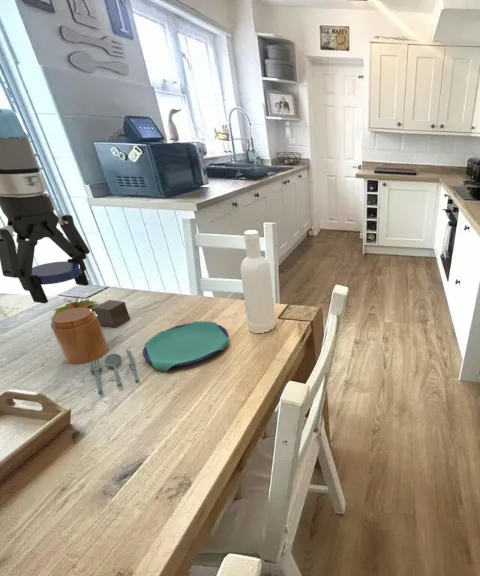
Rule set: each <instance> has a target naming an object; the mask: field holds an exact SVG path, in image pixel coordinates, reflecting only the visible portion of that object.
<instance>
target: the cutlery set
mask: <svg viewBox="0 0 480 576" xmlns="http://www.w3.org/2000/svg"><path fill="white" fill-rule="evenodd" d="M229 342H230V340H229V333H228V330H227V328H225V327H223V326H222V325H220V324H218V323H217V322H216V321H206V320H205V321H204V320H197V321H193V322H189V323H184V324H180V325H176V326H174V327H171V328H168V329H166V330H162V331H159V332H158V333H157V332H156V333H155V334H154V336H152V337H151V338H150V339H149V340H147V341H146V342H145V343H144V348H143V351H142V352H143V353H142V357H143V358H144V359H145V360H146V361H147V362H148V363H150V364H152V366H153V368H154V369H155V370H158V371H161V372H167V371H168V370H169V369H171V368H173V367H182V366H187V365H192V364H195V363H198V362H201V361H204V360H205V359H208V358H210V357H212V356H213V355H215V354H216V353H218V352H220V351H223V350H224V349H225V348H226V347H227V345H229ZM125 352H126V355H127V358H128V361H129V364H128V367H129V369H130V370H131V371H132V374H133V376H134V379H135V380H134V382H135V383H139V382H140V379H139V378H138V375H137V372H136V371H137V370H136V369H137V368H136V367H137V366H136V363H135V361H134V357H133V354H132V352H131V350H129V349H126V351H125ZM121 362H122V356H121V355H120V354H118V353H111V354H108V355H107V356H106V357H105V358H104V364H105V365H106V366H107V367H110V368H113V370H114V376H115V380H116V386H117V388H120V387H123V383H122V381H121V377H120V375H119V372H118V368H117V367H118V365H119V364H121ZM102 371H103V368H102V365H101V363H100V360H99V358H98V359H96V360H93V361H91V362H90V373H91V374H94V377H95V381H96V382H95V383H96V389H97V393H98V395H99V396H100V395H103V394H104V392H103V388H102V382H101V377H100V372H102Z"/></svg>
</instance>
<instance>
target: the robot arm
mask: <svg viewBox="0 0 480 576" xmlns="http://www.w3.org/2000/svg"><path fill="white" fill-rule="evenodd" d="M38 163H39V162H38V161H37V158H36V155H35V152H34V149H33V145H32V144H31V141H30V138H29V133H28V131H27V129H26V128H25V126H24V124H23V122H22V119H21V117H20V116H19V114H18V113H17V112H15V111H14V110H12V109H8V108H0V209H1V211H2V214H3V215H4V216H5V217H6V218H7V223H6V224H7V225H4V226H1V227H0V267H1V274H2V276H4V277H7V278H13V279H18V280H19V282H20V285H21V286H22V289H23V290H24V291H26V292H28V293H29V294H30V296H31V299H32V300H33V302H34V303H37V304H39V303H40V304H47V303H49V300H48V297H47V295H46V293H45V290H44V287H43V286H42V285H41V283H40V281H39V279H38V277H37V275H32V268H33V267H34V266H33V265H34V258H35V249H36V246H37V245H38V242H39V240H42V239H44V238H48V239H50V240H51V241H52V242H53V243H54V244H55V245H56V246H57V247H58V248H60V249H61V250H62V251H63V252H64V253H65V254H66V255H67V256H68V257H70V258H68V259H66V260H67V261H69V262H76V263H78V264H79V266H80V267H81V270H82V274H81V275H80V276H78V277H76V278H74V279H73V280H74V282H75V284H76V285H78V286H86V287H87V286H89V285H90V283H89V280H88V278H87V274H86V272H85V271H87V266H86V264H85V261H84V260H86V259H87V255H88V254H89V255H90V252H91V251H90V249H89V247H88V245H87V244H86V242H85V241H84V239H83V237H82V236H81V234H80V232H79V231H78V229H77V227H76V225H75V222H74V218H73V215H71V214H63V213H59V214H58V215H57V214H56V213H55V206H54V204H53V201H52V198H51V195H50V194H49V193H46V192H47V191H48V188H47V186H46V185H47V184H46V182H45V180H44V177H43V174H42V172H41V170H40V166H39V164H38ZM58 225H59V227H60V229H61V230H62V231H61V230H60V229H59V228H58ZM14 233H15V234H16V239H15V240H16V241H15V240H14V237H15V234H14ZM64 234H65V236H64ZM16 244H17V248H16Z"/></svg>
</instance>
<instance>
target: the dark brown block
mask: <svg viewBox="0 0 480 576" xmlns="http://www.w3.org/2000/svg"><path fill="white" fill-rule="evenodd" d="M93 311H94V313H95V314H96V315H97V317H98V320H99V322H100V325H101V327H107V328H114V329H117V328H118V327H120V326H121V325H123V324H124V323H126V322H128V321H129V320H131V318H130V315H129V312H128V308H127V304H126V302H125V301H121V300H114V299H108V300H106V301H104V302H102V303H100V304H98V305H96V307H94V309H93Z"/></svg>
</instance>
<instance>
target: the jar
mask: <svg viewBox="0 0 480 576" xmlns="http://www.w3.org/2000/svg"><path fill="white" fill-rule="evenodd" d="M54 315H55V314H54ZM54 315H52V316H53V317H52V318H51V324H50V328H51V331H52V333H53V336H54V337H55V339H56V342H57V344H58V346H59V348H60V350H61V353H62V355H63V357H64V359H65V361H66V362H67V364H69V365H82V364H88V363H91V361H92V362H94V360H95V361H97V359H98V360H99V359H100V358H102V357H103V356H105V355H106V354H107V353H108V352H109V351H110V346H109V343H108V342H107V338H106V335H105V333H104V330H103V328H102V326H101V325H100V322H99V320H98V317H97V315H96V313H95V312H93V309H89V308H73V309H69V310H65V311H63V312H60V313H58V314H56V315H55V316H54Z"/></svg>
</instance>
